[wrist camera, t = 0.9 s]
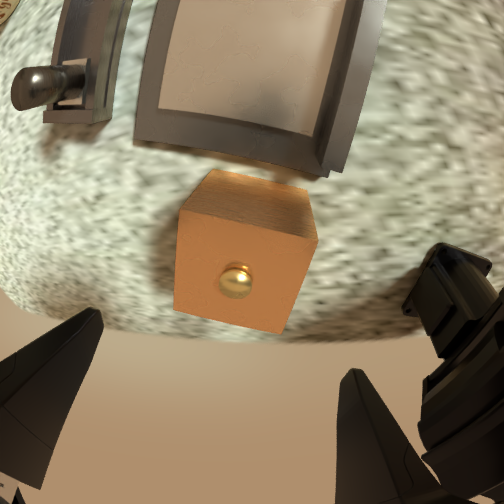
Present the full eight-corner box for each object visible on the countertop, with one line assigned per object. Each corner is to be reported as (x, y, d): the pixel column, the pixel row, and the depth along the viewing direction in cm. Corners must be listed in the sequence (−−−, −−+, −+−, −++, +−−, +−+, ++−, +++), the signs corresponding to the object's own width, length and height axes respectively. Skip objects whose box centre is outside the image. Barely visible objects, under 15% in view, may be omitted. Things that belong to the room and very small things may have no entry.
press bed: (373, -12, 9) (392, -30, 6) (325, 173, 15) (335, 193, 12) (178, -42, 8) (158, -62, 6) (140, 136, 15) (112, 148, 12)
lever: (98, 58, 11) (39, 58, 7) (92, 102, 13) (34, 116, 9) (71, 61, 11) (13, 65, 7) (67, 103, 13) (9, 117, 9)
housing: (306, 189, 16) (319, 246, 10) (282, 266, 19) (280, 340, 13) (213, 168, 16) (176, 213, 10) (201, 247, 19) (170, 315, 13)
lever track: (145, -39, 8) (129, -50, 7) (111, 118, 14) (91, 123, 12) (91, -27, 8) (73, -34, 6) (64, 117, 14) (43, 123, 12)
